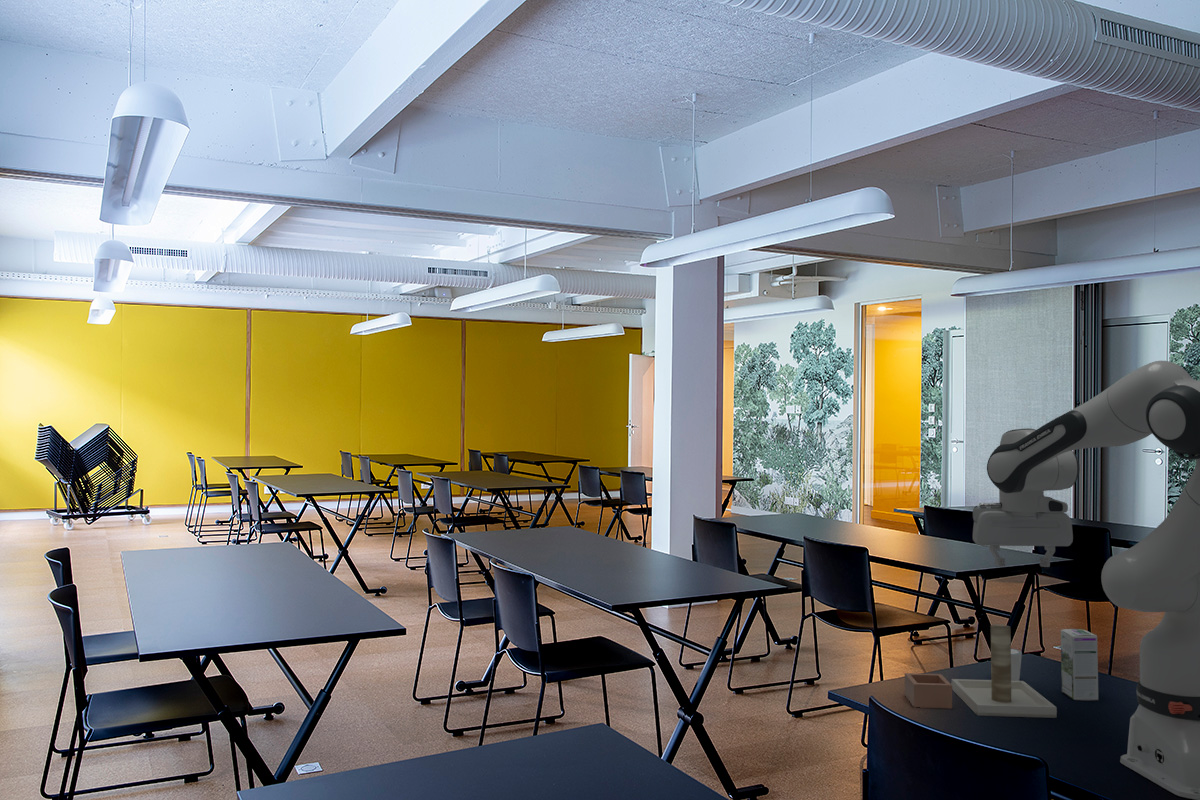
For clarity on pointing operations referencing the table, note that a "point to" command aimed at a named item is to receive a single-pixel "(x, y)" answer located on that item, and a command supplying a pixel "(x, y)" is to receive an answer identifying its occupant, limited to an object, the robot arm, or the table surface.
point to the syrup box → (1079, 664)
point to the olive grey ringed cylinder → (1001, 663)
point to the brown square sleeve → (928, 690)
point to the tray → (1021, 704)
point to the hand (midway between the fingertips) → (1022, 566)
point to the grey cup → (1015, 664)
